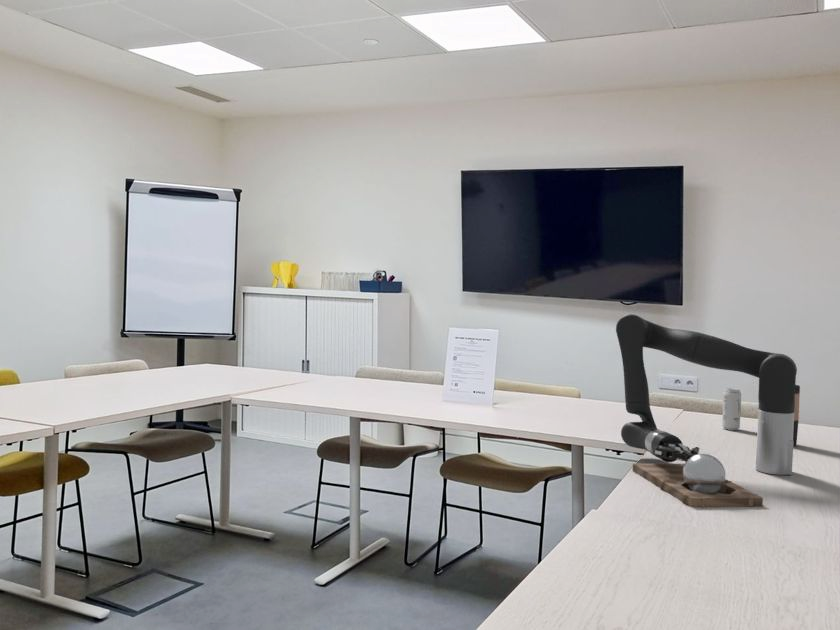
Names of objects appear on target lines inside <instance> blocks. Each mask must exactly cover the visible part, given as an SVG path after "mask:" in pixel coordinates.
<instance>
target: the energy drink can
mask: <svg viewBox="0 0 840 630" xmlns="http://www.w3.org/2000/svg"><path fill="white" fill-rule="evenodd" d="M722 395H723V398H722V399H723V401H722V417H721V420H722V421H721V426H722V427H723V430H725V429H728V430H727V431H732V430H737V431H739V429H740V427H741V411H742V410H741V409H742V408H741V407H742V406H741V405H742V393H741V389H740V388H737V387H736V388H735V387H726V388H725V390H724V391H723V394H722Z"/></svg>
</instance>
